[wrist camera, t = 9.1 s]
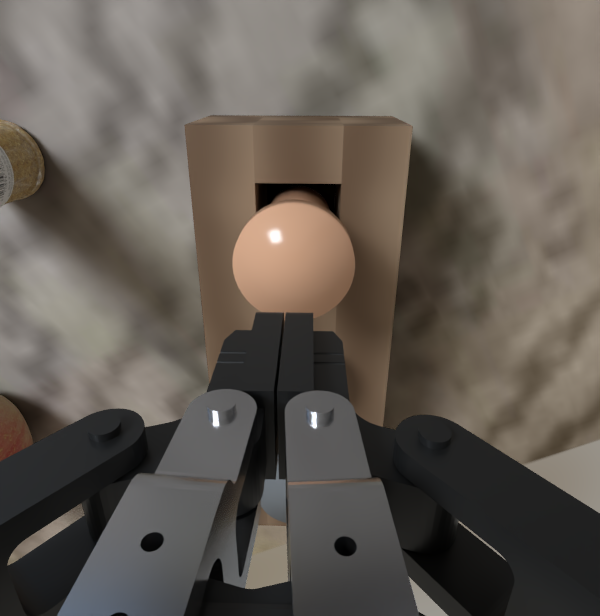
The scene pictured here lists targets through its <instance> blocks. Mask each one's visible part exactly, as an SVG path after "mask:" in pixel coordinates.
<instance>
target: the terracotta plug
mask: <svg viewBox="0 0 600 616" xmlns="http://www.w3.org/2000/svg"><path fill="white" fill-rule="evenodd" d="M232 266H233V274H234V277H235V281H236V283H237V285H238V288H239V289H240V291H241V293H242V294H243V296H244V297H245V298H246V300H247V301H248V302H249V303H250V304H251V305H252V306H254V307H255V308H256V309H258V310H259V311H261V312H284V320H285V316H286V312H300V313H313V318H316V317H319V316H321V315H323V314H325V313H327V312H329V311H330V310H331V309H333V308H334V307H335V306H336V305H338V304H339V303H340V302H341V300H342V299H343V298H344V297H345V295H346V294H347V292H348V290H349V289H350V286H351V284H352V281H353V277H354V273H355V256H354V251H353V246H352V242H351V239H350V236H349V234H348V232H347V230H346V228H345V226H344V225H343V223H342V222H341V221H340V220H339V219H338V217H337V216H335V215H334V214H333V213H332V212H331V211H330V210H329V206H328V204H327V202H326V200H325V199H324V198H323V196H322V195H321V194H320V193H318V192H317V191H315V190H314V189H312V188H309V187H306V186H292V187H288V188H286V189H284V190H282V191H280V192H279V193H278V194H277V195H276V196H275V197H274V198H273V200H272V201H271V203H270V204H269V205H267V206H265V207H263V208H262V209H260V210H259V211H257V212H256V213H255V214H254V215H253V216H252V217H251V218H250V219H249V220H248V221H247V223H246V224H245V226H244V227H243V229H242V231H241V233H240V235H239V238H238V240H237V242H236V245H235V248H234V252H233V263H232Z"/></svg>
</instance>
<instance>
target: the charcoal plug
mask: <svg viewBox="0 0 600 616" xmlns="http://www.w3.org/2000/svg"><path fill="white" fill-rule="evenodd" d="M261 507H262V508H263V510H264V511H265V512H266V513H267V514H268V515H270V516H271V517H273V518H274V519H276V520H278V521H281V522H284V523H286V480H283V479H279V460H278V461H277V472H276V480H274V479H265V482H264V491H263V495H262V498H261Z"/></svg>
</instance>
